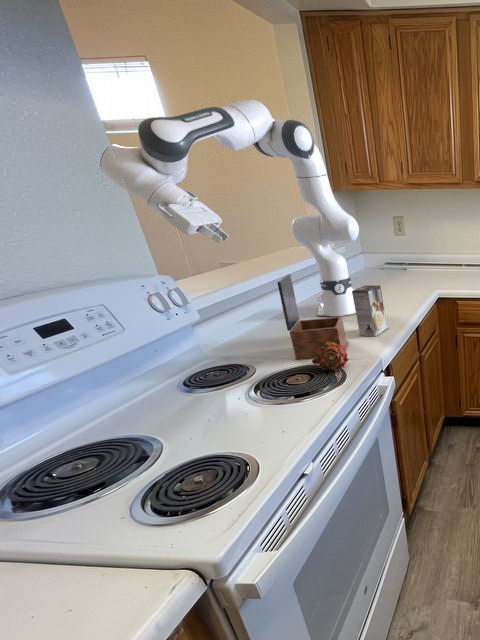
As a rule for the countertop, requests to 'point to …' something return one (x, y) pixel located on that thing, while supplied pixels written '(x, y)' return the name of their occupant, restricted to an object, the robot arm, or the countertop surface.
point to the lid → (288, 301)
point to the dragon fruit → (331, 357)
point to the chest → (316, 335)
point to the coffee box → (369, 310)
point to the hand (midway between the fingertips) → (223, 239)
